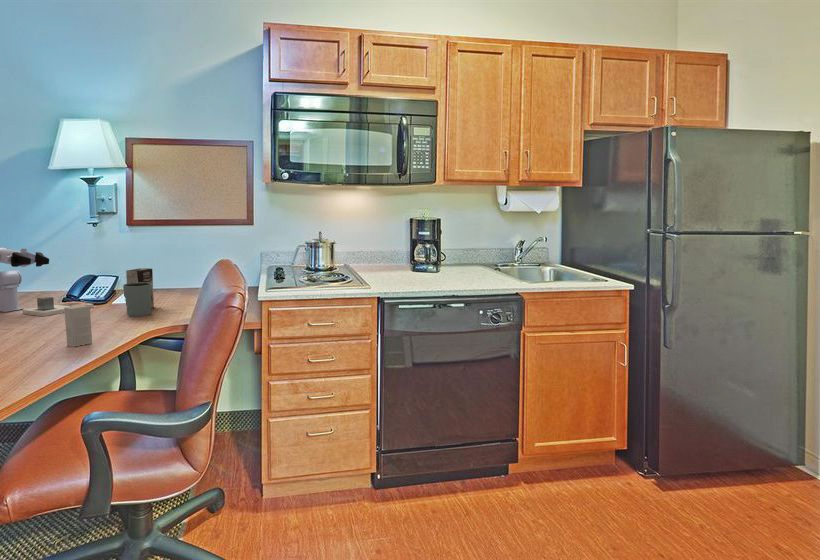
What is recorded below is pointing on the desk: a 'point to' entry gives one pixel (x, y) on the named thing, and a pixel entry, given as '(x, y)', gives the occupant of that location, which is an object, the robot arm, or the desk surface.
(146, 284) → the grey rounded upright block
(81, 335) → the skincare box
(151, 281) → the coffee box
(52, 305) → the dark grey block
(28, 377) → the desk surface
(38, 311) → the board with square holes
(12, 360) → the desk surface
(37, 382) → the desk surface
